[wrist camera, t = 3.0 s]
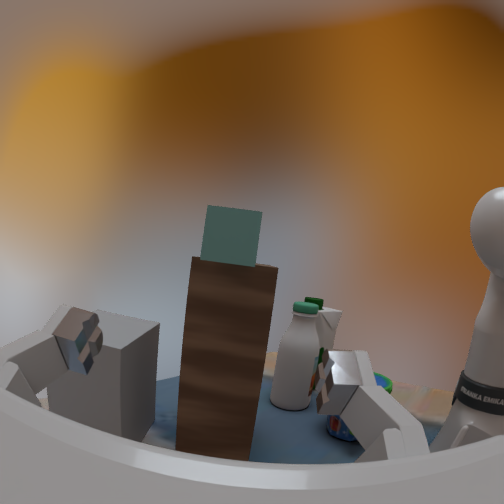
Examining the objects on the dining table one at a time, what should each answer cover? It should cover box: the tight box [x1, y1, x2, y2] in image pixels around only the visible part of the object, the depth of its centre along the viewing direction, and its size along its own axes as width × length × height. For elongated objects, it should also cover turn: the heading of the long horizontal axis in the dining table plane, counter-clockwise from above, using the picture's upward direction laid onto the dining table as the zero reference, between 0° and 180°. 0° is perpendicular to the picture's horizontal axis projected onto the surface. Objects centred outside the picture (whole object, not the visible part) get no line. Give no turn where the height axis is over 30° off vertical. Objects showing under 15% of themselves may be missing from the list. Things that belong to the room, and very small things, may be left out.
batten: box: [200, 205, 262, 267], centre depth 31 cm, size 22×4×4 cm, turn 0°
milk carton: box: [305, 297, 342, 390], centre depth 66 cm, size 9×9×20 cm
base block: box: [47, 310, 160, 442], centre depth 34 cm, size 14×10×16 cm
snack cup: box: [327, 372, 392, 441], centre depth 44 cm, size 16×10×10 cm
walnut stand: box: [176, 257, 278, 461], centre depth 36 cm, size 16×8×26 cm, turn 0°
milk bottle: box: [270, 302, 320, 410], centre depth 55 cm, size 8×8×20 cm
